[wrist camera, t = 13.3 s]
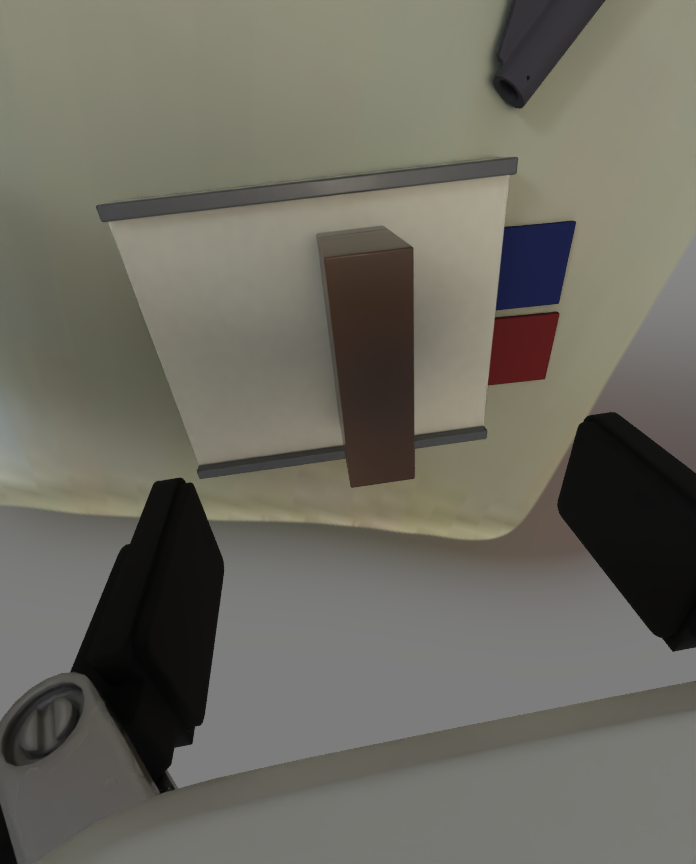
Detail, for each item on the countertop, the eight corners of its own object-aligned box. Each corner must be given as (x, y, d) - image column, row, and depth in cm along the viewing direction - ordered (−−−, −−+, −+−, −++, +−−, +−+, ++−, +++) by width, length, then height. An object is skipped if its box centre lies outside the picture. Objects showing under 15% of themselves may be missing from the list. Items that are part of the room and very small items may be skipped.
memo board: (205, 457, 26) (199, 479, 24) (114, 201, 18) (94, 205, 16) (474, 420, 26) (486, 439, 25) (497, 157, 19) (518, 156, 17)
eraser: (339, 424, 24) (350, 488, 19) (315, 233, 18) (323, 257, 14) (391, 417, 24) (415, 479, 19) (383, 225, 18) (413, 246, 14)
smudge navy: (484, 309, 22) (486, 311, 22) (493, 228, 20) (496, 229, 20) (555, 302, 23) (558, 303, 22) (572, 220, 20) (576, 221, 20)
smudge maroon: (478, 384, 25) (480, 386, 25) (486, 318, 23) (488, 320, 22) (542, 377, 25) (545, 379, 25) (557, 311, 23) (559, 313, 23)
